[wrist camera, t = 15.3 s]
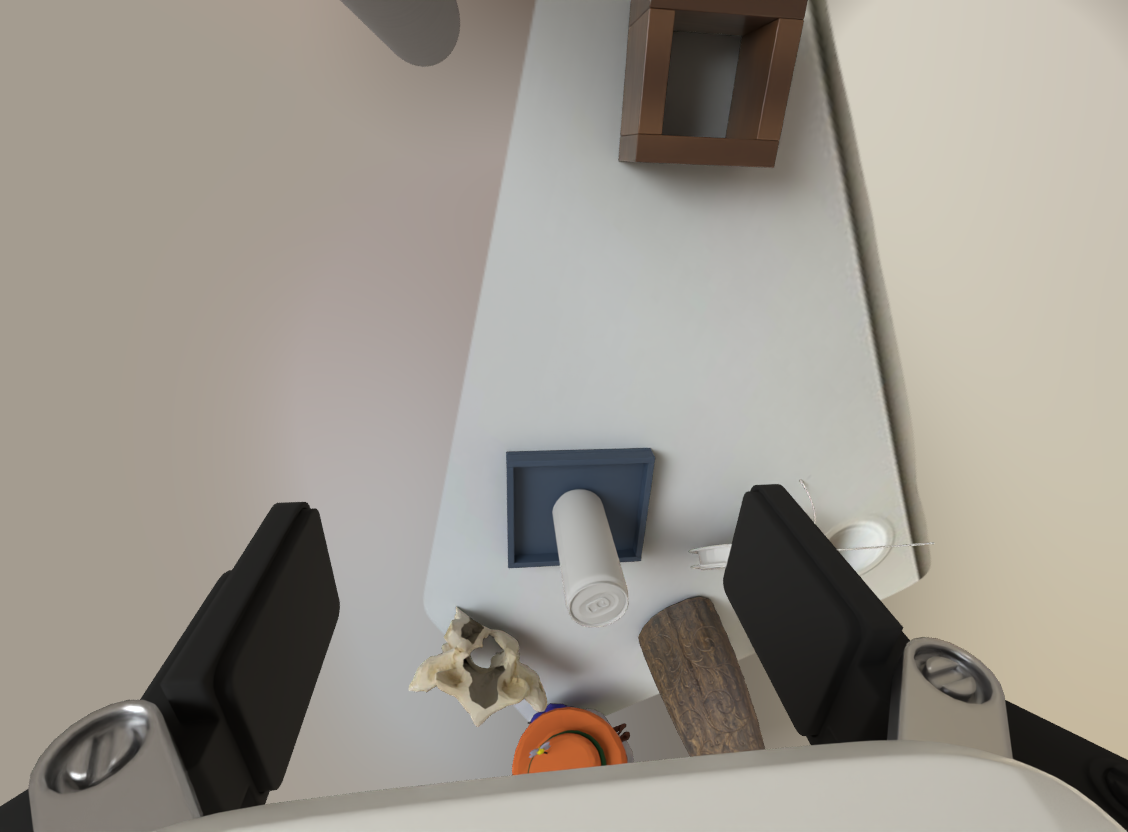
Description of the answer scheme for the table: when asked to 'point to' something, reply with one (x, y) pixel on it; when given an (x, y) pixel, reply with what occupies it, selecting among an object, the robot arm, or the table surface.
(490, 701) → the decorative object
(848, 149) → the table surface
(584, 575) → the beverage can
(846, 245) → the table surface
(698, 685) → the statue
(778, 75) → the can holder
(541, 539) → the tray
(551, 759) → the toy
